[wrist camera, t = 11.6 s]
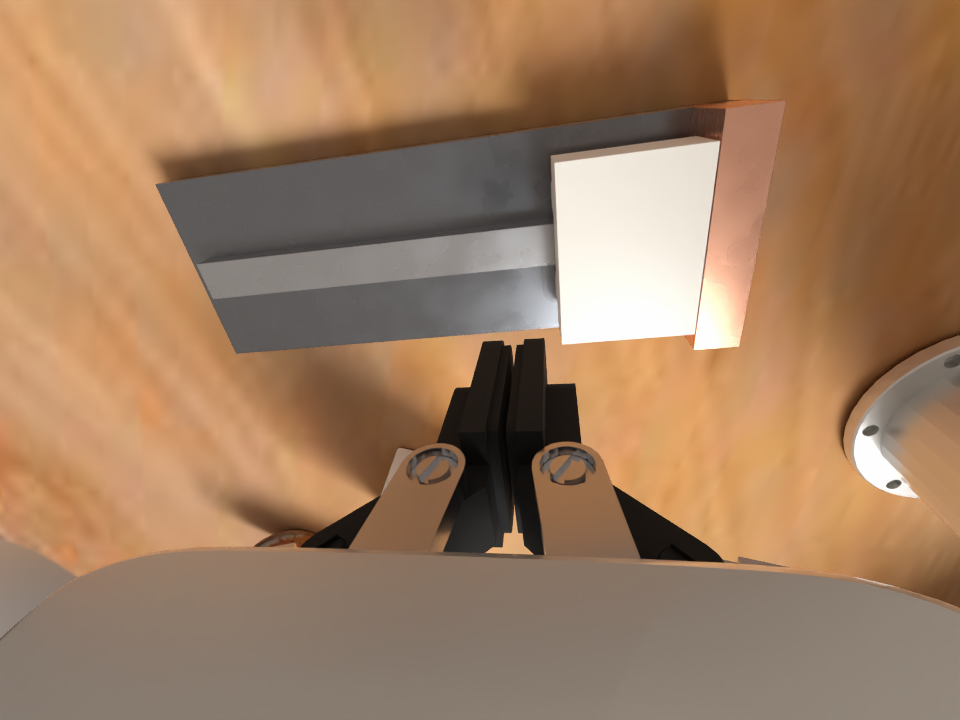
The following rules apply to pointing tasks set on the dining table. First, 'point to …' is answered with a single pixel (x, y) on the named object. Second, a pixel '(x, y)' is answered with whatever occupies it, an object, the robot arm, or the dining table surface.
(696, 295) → the slider
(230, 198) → the rail
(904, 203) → the dining table surface
